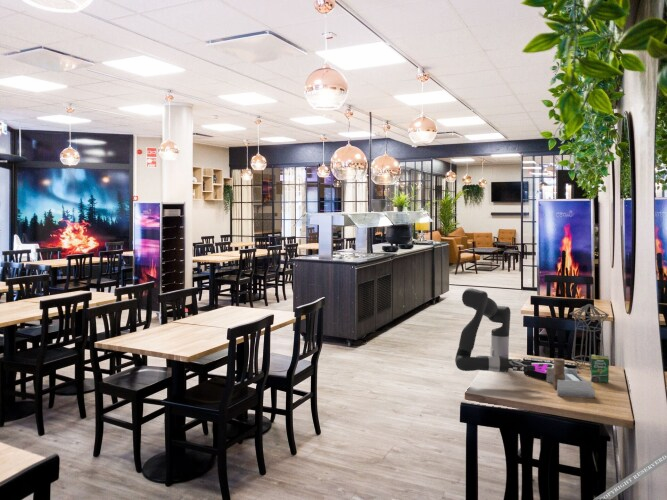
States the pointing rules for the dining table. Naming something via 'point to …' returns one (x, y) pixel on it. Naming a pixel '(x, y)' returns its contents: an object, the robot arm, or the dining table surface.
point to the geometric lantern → (587, 331)
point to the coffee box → (599, 368)
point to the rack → (571, 384)
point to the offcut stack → (571, 377)
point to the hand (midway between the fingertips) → (533, 365)
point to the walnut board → (558, 371)
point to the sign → (544, 367)
